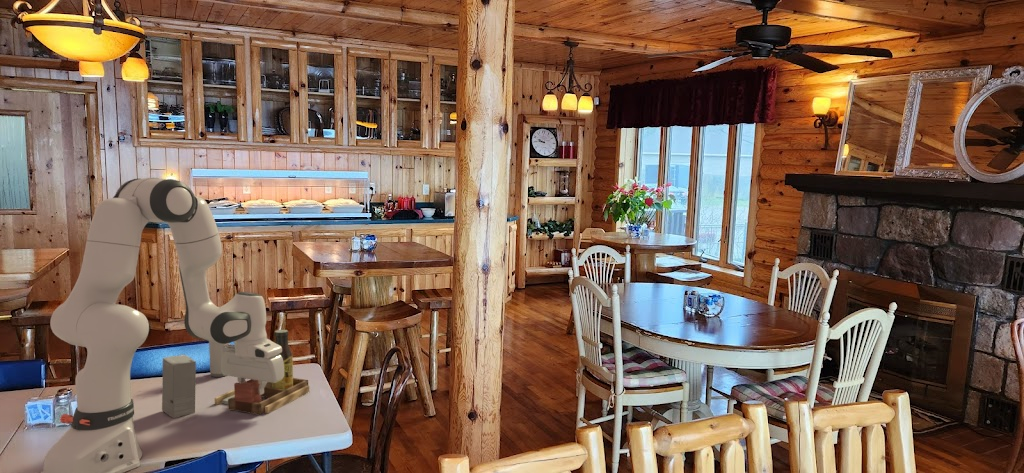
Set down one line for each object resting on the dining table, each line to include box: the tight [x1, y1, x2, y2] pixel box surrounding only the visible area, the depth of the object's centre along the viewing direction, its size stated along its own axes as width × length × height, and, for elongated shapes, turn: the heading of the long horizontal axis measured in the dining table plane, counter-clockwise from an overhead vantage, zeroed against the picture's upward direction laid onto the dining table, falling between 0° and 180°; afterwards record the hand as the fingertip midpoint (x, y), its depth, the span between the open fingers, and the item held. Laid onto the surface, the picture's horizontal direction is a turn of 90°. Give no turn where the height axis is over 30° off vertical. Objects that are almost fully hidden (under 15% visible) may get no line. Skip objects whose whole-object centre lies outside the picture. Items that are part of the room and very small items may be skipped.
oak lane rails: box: [214, 385, 310, 414], centre depth 203 cm, size 19×19×2 cm
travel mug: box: [208, 340, 230, 378], centre depth 223 cm, size 6×7×20 cm
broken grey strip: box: [221, 395, 235, 405], centre depth 206 cm, size 18×4×6 cm, turn 160°
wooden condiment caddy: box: [227, 377, 309, 415], centre depth 201 cm, size 22×11×8 cm, turn 160°
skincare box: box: [161, 354, 197, 419], centre depth 191 cm, size 8×7×16 cm
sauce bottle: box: [272, 329, 294, 390], centre depth 206 cm, size 6×6×20 cm
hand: (252, 392), depth 194 cm, fingers open, 4 cm apart
